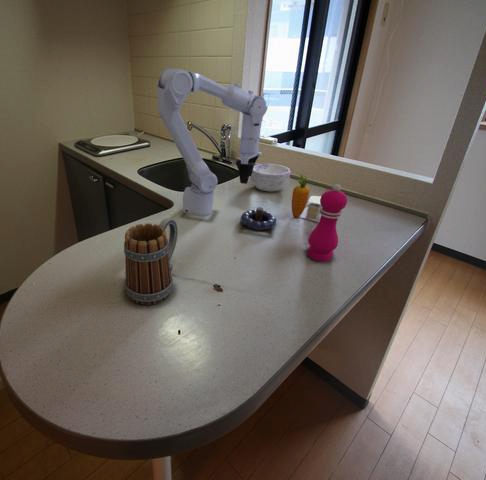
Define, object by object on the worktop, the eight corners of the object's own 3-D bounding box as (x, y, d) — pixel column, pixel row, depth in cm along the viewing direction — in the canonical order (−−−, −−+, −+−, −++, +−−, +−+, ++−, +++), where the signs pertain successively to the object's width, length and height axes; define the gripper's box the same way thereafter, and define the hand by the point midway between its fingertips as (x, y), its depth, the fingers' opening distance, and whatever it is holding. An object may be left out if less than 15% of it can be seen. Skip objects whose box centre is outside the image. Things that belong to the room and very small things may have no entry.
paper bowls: (258, 178, 137) (261, 160, 133) (293, 186, 129) (296, 167, 125) (242, 188, 126) (244, 169, 122) (278, 198, 118) (281, 177, 114)
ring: (237, 228, 94) (237, 220, 93) (244, 213, 103) (245, 206, 102) (273, 234, 91) (274, 226, 90) (277, 218, 100) (278, 211, 99)
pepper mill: (333, 251, 87) (353, 181, 77) (334, 265, 81) (355, 191, 71) (305, 246, 89) (321, 177, 79) (304, 259, 83) (321, 187, 73)
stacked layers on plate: (323, 224, 101) (327, 208, 98) (296, 216, 105) (299, 200, 102) (333, 213, 107) (337, 198, 105) (307, 206, 112) (310, 192, 109)
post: (240, 232, 95) (242, 212, 92) (245, 219, 103) (247, 200, 99) (270, 237, 93) (273, 217, 90) (273, 223, 100) (276, 205, 97)
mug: (153, 313, 65) (149, 251, 57) (115, 295, 70) (107, 236, 62) (193, 275, 76) (194, 219, 69) (158, 261, 81) (156, 208, 74)
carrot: (304, 223, 100) (314, 178, 93) (288, 222, 101) (296, 177, 94) (302, 217, 105) (312, 173, 97) (287, 215, 106) (295, 172, 98)
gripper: (259, 143, 91) (254, 188, 98) (266, 133, 103) (260, 174, 110) (235, 141, 93) (232, 185, 100) (244, 132, 105) (240, 171, 112)
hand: (245, 179), depth 105 cm, fingers open, 7 cm apart
